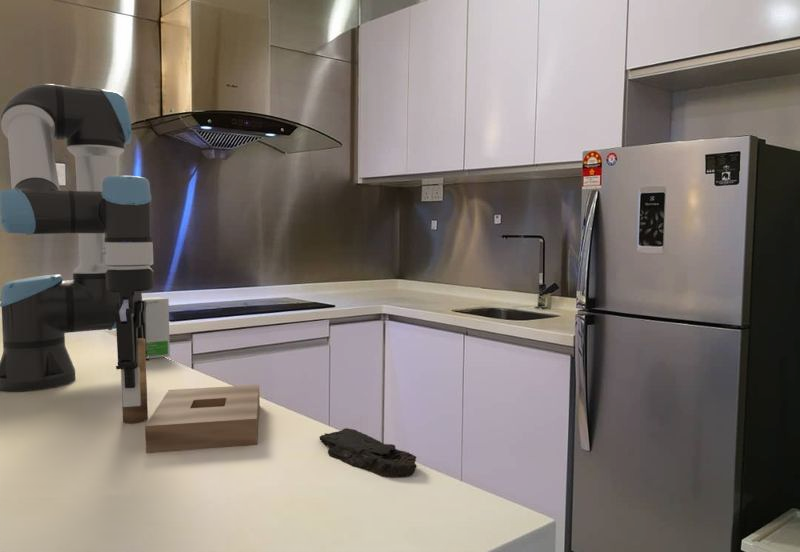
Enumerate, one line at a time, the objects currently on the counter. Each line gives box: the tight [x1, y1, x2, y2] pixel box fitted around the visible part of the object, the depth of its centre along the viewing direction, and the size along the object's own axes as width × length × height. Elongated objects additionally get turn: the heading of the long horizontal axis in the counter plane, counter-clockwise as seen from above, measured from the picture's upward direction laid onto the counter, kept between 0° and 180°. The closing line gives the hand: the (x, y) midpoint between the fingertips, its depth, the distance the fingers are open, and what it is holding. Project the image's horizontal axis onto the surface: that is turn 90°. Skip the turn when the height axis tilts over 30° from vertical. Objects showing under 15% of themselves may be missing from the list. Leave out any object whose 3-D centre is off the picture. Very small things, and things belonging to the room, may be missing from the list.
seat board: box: [144, 384, 261, 454], centre depth 105 cm, size 22×16×4 cm
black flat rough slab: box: [319, 427, 418, 479], centre depth 90 cm, size 22×7×3 cm, turn 36°
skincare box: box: [142, 296, 171, 360], centre depth 165 cm, size 8×7×16 cm
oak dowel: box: [120, 338, 149, 424], centre depth 108 cm, size 4×4×14 cm
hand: (134, 401), depth 109 cm, fingers closed on oak dowel, 4 cm apart
